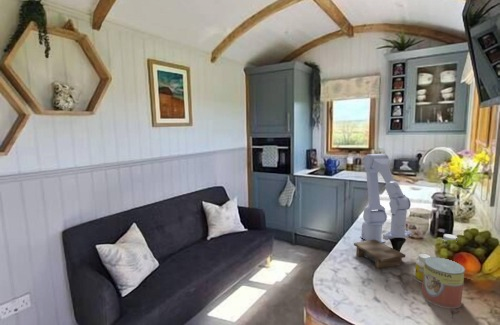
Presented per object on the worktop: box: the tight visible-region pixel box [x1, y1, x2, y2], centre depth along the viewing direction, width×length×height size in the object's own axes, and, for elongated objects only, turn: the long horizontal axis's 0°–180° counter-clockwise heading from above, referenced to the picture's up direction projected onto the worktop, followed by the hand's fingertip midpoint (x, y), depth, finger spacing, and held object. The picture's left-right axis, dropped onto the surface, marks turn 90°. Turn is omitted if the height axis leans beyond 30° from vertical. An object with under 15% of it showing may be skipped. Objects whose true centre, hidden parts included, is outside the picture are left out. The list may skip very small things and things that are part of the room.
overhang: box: [353, 239, 406, 270], centre depth 123 cm, size 17×12×5 cm
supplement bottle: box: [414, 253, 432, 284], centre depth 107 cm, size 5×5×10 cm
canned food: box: [421, 256, 466, 309], centre depth 96 cm, size 11×11×12 cm
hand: (396, 252), depth 127 cm, fingers closed
